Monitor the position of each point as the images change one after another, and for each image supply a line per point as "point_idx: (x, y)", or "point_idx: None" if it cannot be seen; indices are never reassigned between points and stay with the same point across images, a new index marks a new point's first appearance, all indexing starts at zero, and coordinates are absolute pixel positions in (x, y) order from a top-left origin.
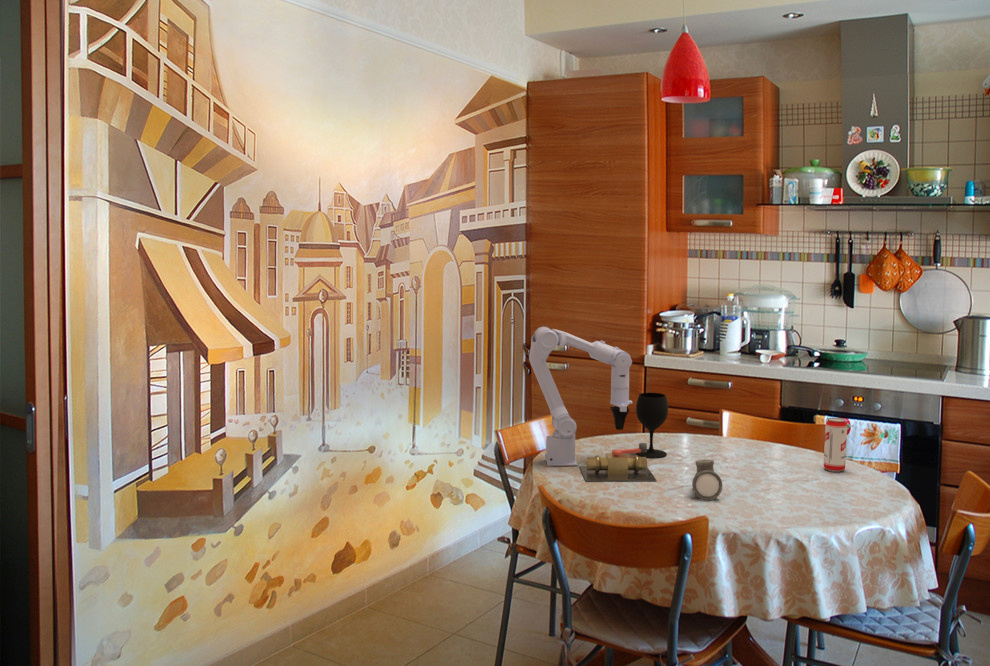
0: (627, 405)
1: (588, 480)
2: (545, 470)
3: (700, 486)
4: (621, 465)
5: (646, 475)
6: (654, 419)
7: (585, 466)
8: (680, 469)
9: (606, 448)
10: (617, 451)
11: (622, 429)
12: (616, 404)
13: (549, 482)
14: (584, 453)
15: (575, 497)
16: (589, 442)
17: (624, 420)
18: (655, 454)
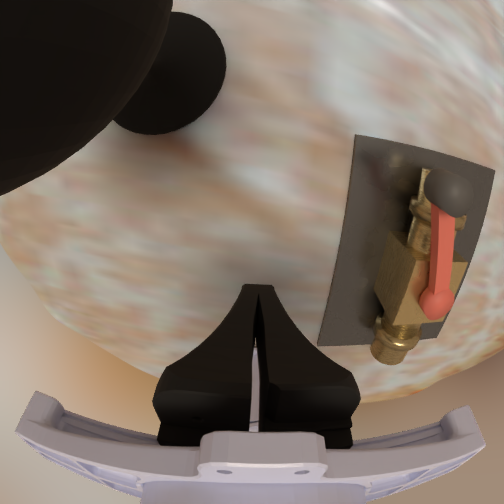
0: (418, 449)
1: (438, 333)
2: None
3: None
4: None
5: None
6: (172, 4)
7: (327, 334)
8: (396, 27)
9: (86, 233)
10: (450, 304)
11: (273, 287)
12: (375, 494)
13: (404, 386)
14: (157, 310)
15: (485, 347)
16: (41, 270)
17: (293, 325)
18: (195, 54)
